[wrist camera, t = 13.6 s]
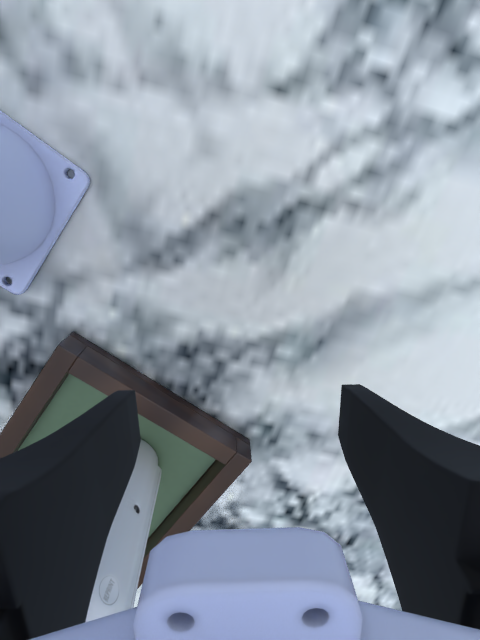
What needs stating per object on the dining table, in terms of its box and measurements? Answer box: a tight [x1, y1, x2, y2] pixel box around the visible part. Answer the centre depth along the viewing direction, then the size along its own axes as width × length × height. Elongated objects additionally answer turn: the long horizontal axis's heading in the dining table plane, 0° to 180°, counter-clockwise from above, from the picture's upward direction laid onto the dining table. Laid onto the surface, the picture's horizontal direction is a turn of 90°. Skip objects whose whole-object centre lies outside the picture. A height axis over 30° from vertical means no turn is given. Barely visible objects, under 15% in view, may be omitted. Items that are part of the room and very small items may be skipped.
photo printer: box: [85, 440, 161, 622], centre depth 20 cm, size 10×4×12 cm, turn 128°
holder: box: [0, 332, 252, 589], centre depth 25 cm, size 13×15×2 cm
